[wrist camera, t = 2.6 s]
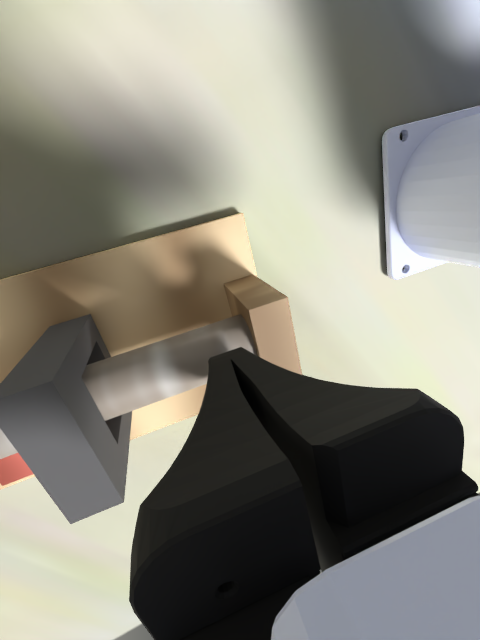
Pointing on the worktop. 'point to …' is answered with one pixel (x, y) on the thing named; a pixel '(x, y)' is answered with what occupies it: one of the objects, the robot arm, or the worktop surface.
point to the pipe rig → (150, 322)
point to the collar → (66, 421)
